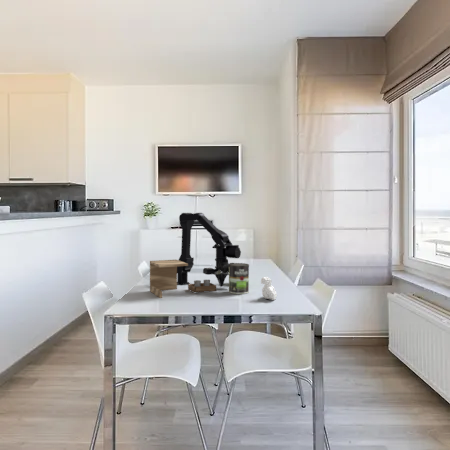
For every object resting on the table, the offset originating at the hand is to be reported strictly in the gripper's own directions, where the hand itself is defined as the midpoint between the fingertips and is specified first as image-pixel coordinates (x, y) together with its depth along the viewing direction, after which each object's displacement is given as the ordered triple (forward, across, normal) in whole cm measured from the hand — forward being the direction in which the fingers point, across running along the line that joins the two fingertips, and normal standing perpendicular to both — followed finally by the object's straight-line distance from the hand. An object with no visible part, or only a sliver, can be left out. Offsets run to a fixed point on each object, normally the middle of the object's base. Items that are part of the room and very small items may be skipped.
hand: (221, 286), depth 207 cm
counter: (+1, -29, 0) cm, 29 cm away
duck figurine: (+1, +10, -31) cm, 33 cm away
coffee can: (+1, +4, -12) cm, 13 cm away
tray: (+1, -11, 0) cm, 11 cm away
